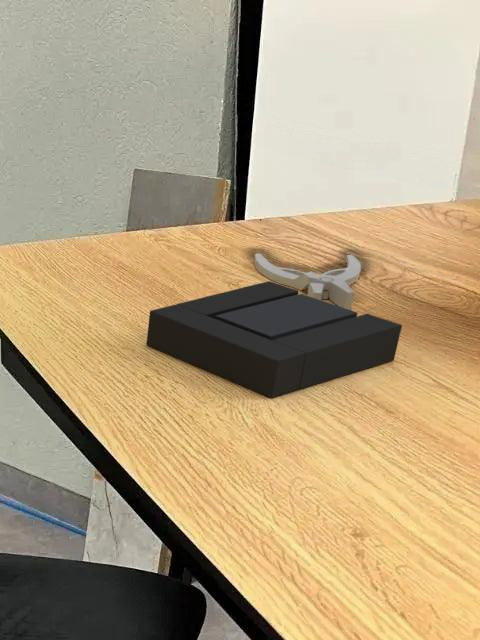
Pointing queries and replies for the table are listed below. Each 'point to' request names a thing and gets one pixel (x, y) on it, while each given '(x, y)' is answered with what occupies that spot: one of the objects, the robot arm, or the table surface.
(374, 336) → the black u-shaped frame
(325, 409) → the table surface
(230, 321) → the black block
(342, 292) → the pliers
